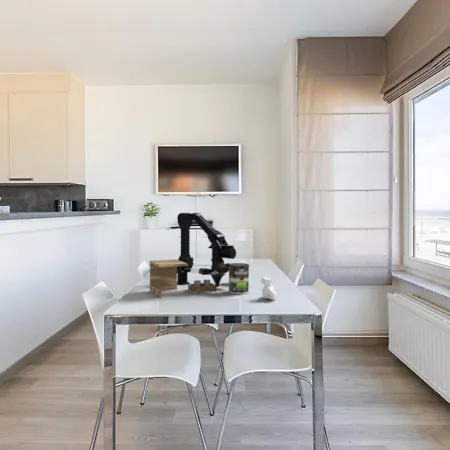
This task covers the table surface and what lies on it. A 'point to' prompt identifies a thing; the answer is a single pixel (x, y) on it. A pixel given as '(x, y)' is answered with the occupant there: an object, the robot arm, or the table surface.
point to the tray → (201, 286)
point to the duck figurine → (268, 289)
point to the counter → (164, 275)
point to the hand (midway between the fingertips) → (217, 287)
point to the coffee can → (238, 278)
